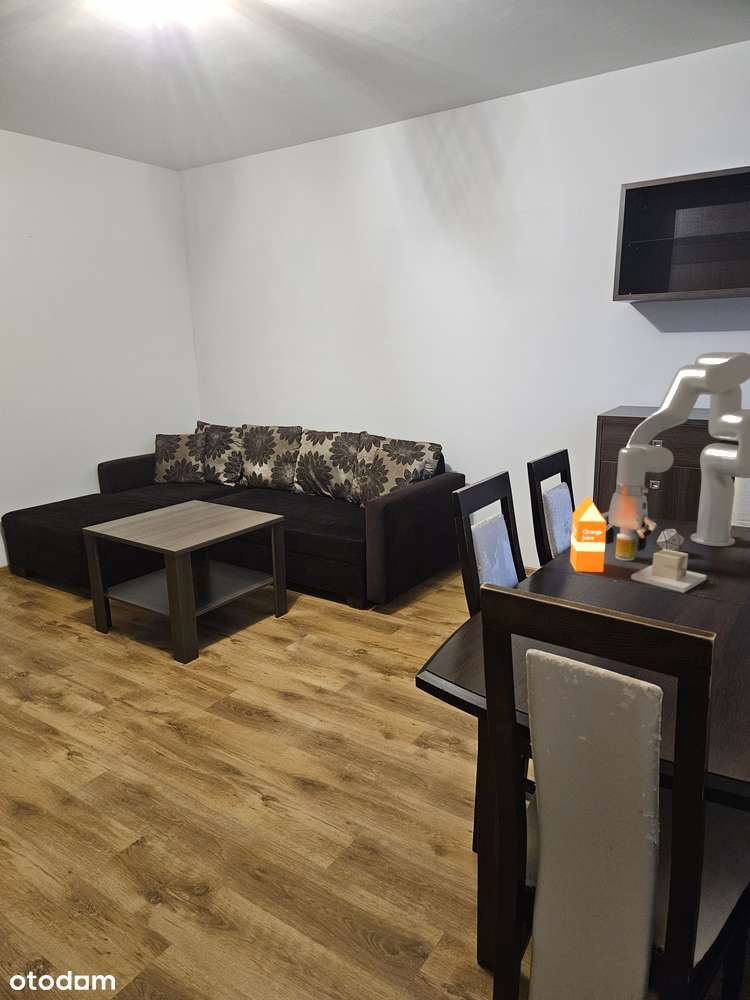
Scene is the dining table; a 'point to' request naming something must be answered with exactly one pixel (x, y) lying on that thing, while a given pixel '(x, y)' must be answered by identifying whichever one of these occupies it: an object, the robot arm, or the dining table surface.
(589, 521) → the orange juice
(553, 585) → the dining table surface
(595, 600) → the dining table surface
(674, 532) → the game die
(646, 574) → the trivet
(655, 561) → the beech block
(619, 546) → the supplement bottle
